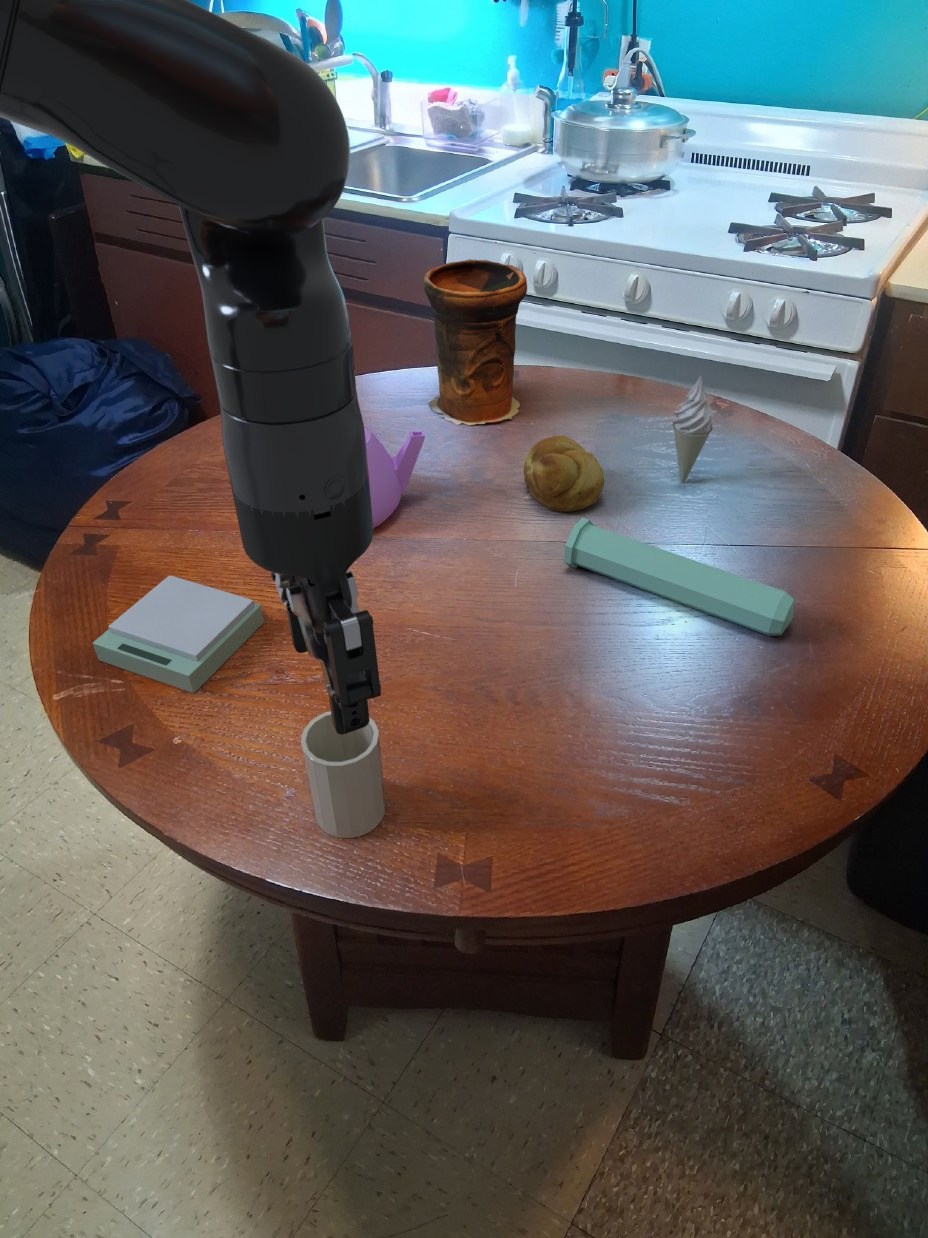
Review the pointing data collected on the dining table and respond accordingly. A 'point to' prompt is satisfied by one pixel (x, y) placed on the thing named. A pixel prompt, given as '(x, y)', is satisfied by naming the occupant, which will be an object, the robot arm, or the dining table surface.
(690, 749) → the dining table surface
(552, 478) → the bread roll
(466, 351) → the vessel
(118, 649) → the scale
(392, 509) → the teapot
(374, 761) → the tumbler
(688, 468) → the ice cream cone
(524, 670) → the dining table surface
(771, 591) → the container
